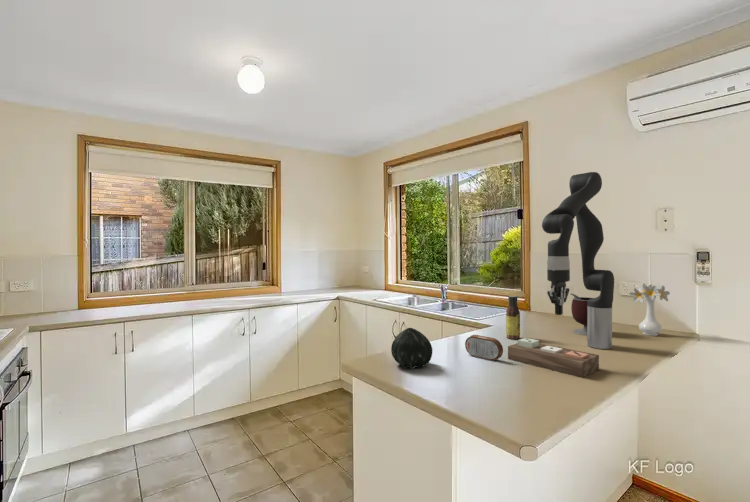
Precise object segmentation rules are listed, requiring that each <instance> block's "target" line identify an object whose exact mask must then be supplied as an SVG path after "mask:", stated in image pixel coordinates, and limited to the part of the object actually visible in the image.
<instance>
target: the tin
mask: <svg viewBox="0 0 750 502" xmlns="http://www.w3.org/2000/svg"><path fill="white" fill-rule="evenodd" d="M464 345H465V351H466V352H467V354H469V355H470V356H472V357H474V356H475V358H478V357H479V359H484V360H488V361H497V360H498V359H500V358H502V356H503V353H504V348H503V345H502V343H501V342H500V341H499V339H498V338H497V339H496V338H495V337H489V336H484V335H478V334H471V335H470V336H469V337H467V338H466V340H465V342H464Z"/></svg>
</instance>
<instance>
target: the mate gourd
mask: <svg viewBox="0 0 750 502" xmlns="http://www.w3.org/2000/svg"><path fill="white" fill-rule="evenodd" d="M570 295H571V296H572V297H573V298H572V300H571V301H572V302H571V315H572V318H573V320H574V321H575V322H576V323H578V324H581V325H582V326H583V327H582V328H576V329H575V328H574V329H573V330H572V331H573V333H574V334H576V335H577V334H578V335H583V336H587V314H588V313H587V306H588V300H589V299H592V298H593V297H587V296H582V297H581V296H579V295H576V294H574V293H572V292H571V293H570Z"/></svg>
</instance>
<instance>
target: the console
mask: <svg viewBox="0 0 750 502" xmlns="http://www.w3.org/2000/svg"><path fill="white" fill-rule="evenodd" d="M545 346H552V347H557V348H562V349H563V351H562V352H559V353H556V354H555V353H550V352H546V351H541V350H540V348H542V347H545ZM570 351H576V352H581V353H586V354H589V357H587V358H585V359H578V358H573V357H569V356H565V353H568V352H570ZM507 360H511V361H514V362H518V363H523V364H525V365H530V366H533V367H537V368H543V369H546V370H549V371H553V372H558V373H561V374H565V375H568V376H569V375H570V376H573V377H577V378H581V379H582V378H584V377H587V376H588V375H590V374H592V373H594V372H596V371H598V370H599V369H600V354H597V353H596V354H594V353H592V352H586V351H582V350H577V349H571V348H566V347H560V346H556V345H552V344H546V343H542V342H539V346H538V347H535V348H527V347H523V346H518V342H517V343H514V344H511V345H508V346H507Z"/></svg>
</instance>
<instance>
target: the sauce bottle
mask: <svg viewBox="0 0 750 502" xmlns="http://www.w3.org/2000/svg"><path fill="white" fill-rule="evenodd" d="M507 298H508V299H507V300H508V307H507V309H506V312H505V313H506V314H505V315H506V317H505V323H506V324H505V327H506V329H505V332H506V338H507V339H509V340H520V339H521V312H520V309H519V306H518V296H516V295H508V297H507Z"/></svg>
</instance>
